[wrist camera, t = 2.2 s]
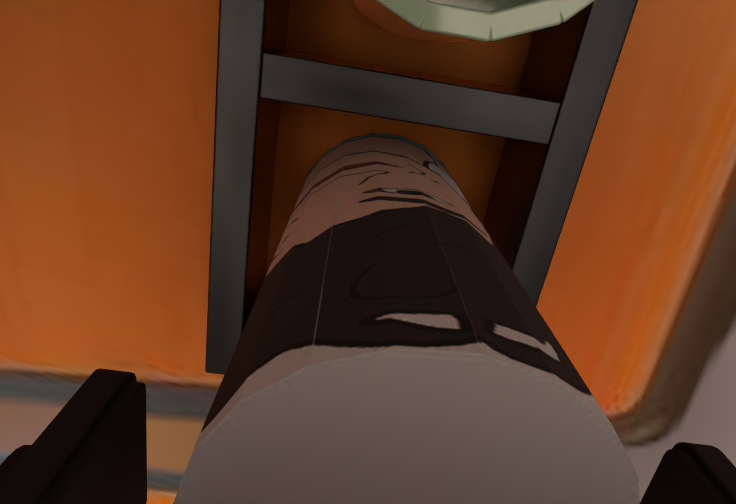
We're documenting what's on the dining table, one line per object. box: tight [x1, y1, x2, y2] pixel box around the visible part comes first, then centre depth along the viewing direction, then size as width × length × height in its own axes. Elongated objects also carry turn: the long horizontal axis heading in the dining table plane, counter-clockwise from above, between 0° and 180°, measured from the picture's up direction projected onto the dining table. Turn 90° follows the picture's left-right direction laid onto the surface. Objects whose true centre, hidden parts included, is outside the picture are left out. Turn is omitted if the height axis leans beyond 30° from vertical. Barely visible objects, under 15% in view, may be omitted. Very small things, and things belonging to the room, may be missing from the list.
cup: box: [173, 133, 640, 504], centre depth 14 cm, size 7×7×15 cm
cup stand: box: [205, 0, 638, 375], centre depth 17 cm, size 12×22×4 cm, turn 171°
